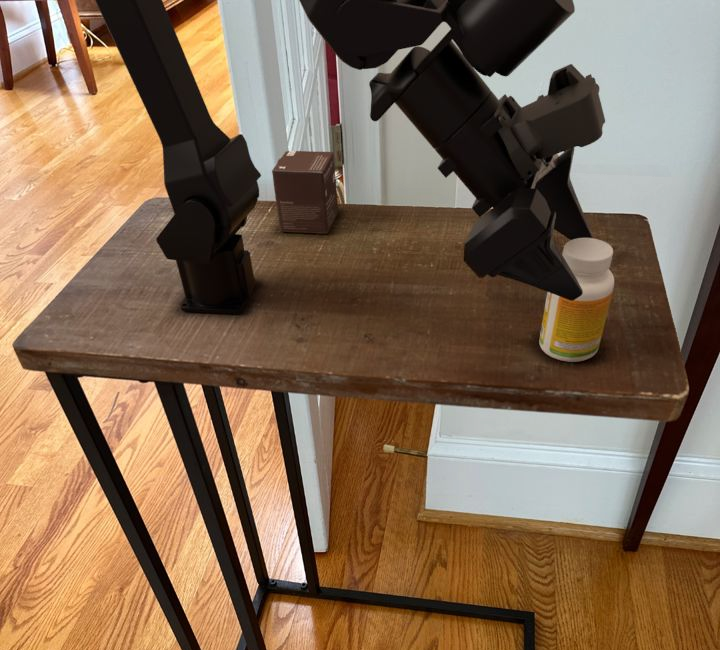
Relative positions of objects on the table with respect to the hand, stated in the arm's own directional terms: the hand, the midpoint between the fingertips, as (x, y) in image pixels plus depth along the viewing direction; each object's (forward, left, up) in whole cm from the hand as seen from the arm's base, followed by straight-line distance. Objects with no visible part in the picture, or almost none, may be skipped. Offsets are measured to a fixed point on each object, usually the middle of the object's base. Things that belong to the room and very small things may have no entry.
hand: (583, 268), depth 58 cm
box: (-29, +23, -8) cm, 38 cm away
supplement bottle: (0, 0, -8) cm, 8 cm away
